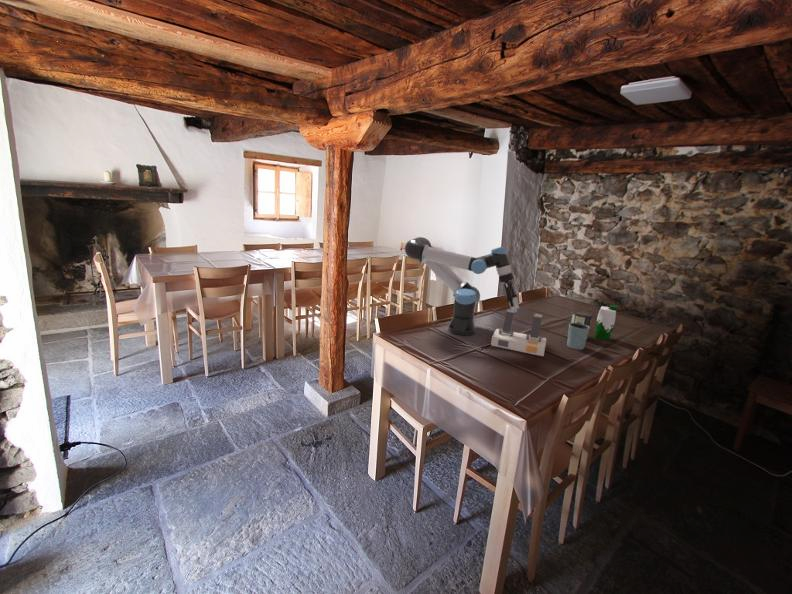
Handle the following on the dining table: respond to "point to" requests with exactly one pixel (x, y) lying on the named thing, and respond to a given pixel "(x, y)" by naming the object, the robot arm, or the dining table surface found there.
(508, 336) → the console
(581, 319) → the coffee can
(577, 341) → the drinking glass
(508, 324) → the left paddle
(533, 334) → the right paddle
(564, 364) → the dining table surface
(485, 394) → the dining table surface
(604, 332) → the milk carton
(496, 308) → the dining table surface
